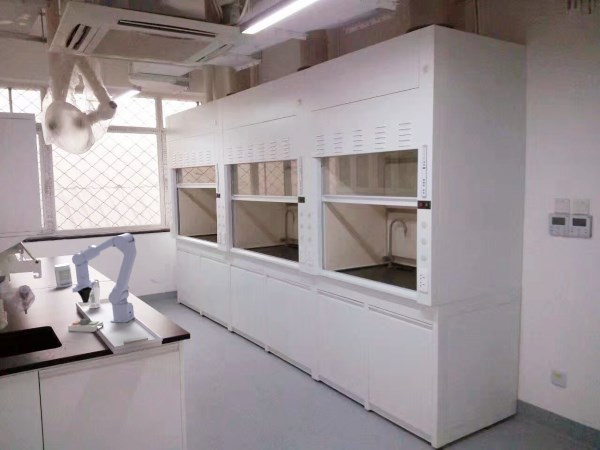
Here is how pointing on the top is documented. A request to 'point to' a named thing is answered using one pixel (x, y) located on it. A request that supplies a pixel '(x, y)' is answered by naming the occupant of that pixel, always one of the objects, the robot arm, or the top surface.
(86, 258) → the robot arm
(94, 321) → the sage key
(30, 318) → the top surface
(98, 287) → the beer glass
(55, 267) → the supplement tub
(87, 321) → the grey key
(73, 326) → the keypad
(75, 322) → the terracotta key
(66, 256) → the top surface
